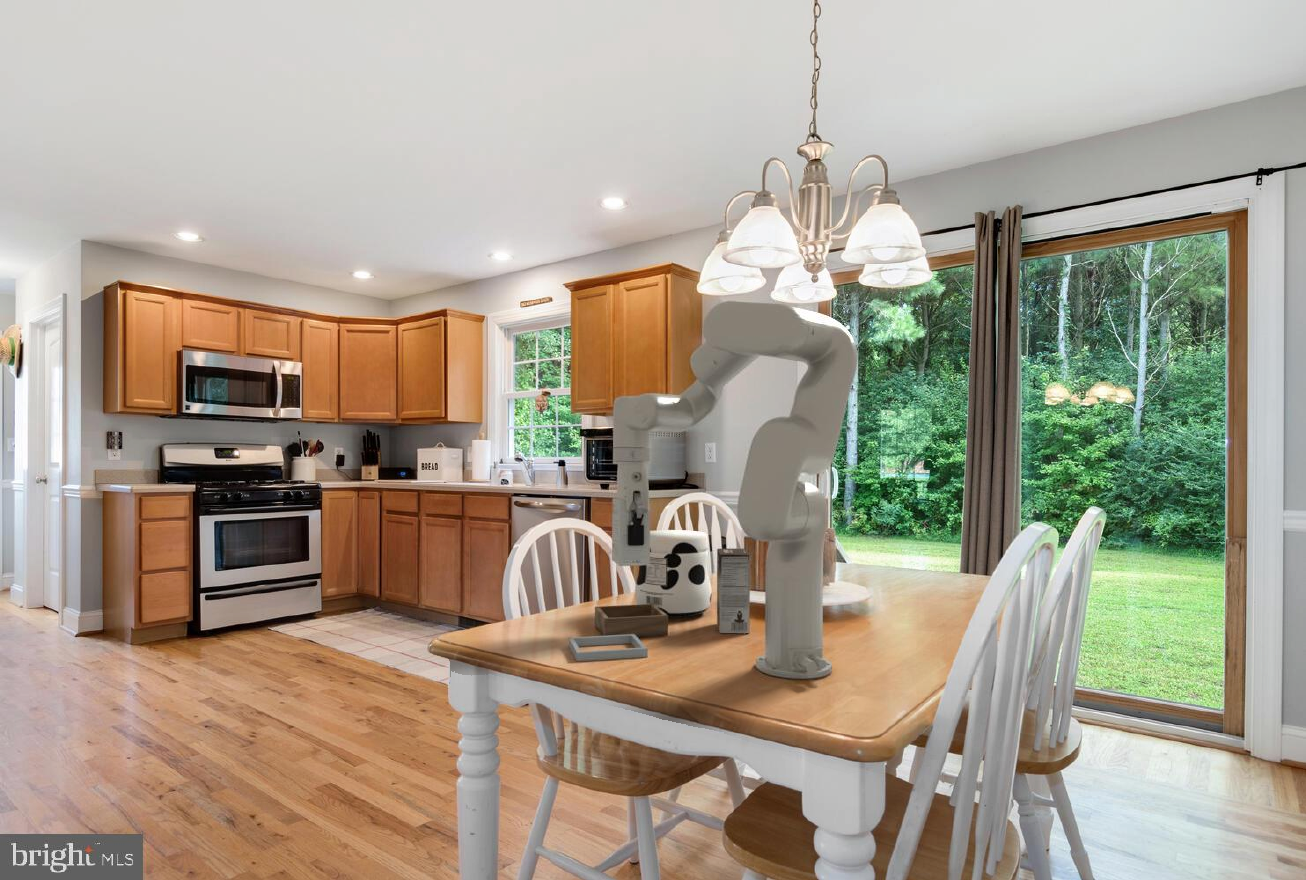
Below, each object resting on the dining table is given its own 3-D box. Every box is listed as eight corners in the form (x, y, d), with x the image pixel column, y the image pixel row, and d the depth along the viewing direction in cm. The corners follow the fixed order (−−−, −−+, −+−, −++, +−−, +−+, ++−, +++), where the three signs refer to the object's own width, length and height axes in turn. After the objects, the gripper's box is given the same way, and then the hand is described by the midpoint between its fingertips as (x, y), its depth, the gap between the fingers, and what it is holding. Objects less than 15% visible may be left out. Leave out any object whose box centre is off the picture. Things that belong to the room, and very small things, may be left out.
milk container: (703, 604, 177) (704, 529, 178) (718, 621, 160) (719, 537, 160) (631, 606, 175) (631, 529, 176) (638, 623, 158) (639, 538, 158)
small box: (650, 565, 148) (650, 500, 148) (619, 566, 146) (619, 500, 147) (641, 559, 156) (641, 497, 156) (611, 560, 154) (611, 497, 154)
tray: (647, 656, 132) (647, 648, 132) (577, 661, 129) (577, 652, 129) (634, 641, 142) (634, 634, 142) (568, 645, 139) (568, 637, 139)
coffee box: (716, 623, 158) (716, 547, 158) (746, 623, 158) (746, 548, 158) (719, 634, 149) (719, 553, 149) (751, 634, 149) (751, 554, 149)
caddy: (667, 636, 147) (668, 615, 147) (605, 639, 144) (605, 618, 144) (653, 622, 158) (653, 603, 158) (594, 625, 155) (595, 606, 155)
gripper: (660, 457, 144) (659, 547, 144) (639, 456, 161) (639, 537, 161) (622, 457, 142) (621, 548, 142) (605, 456, 159) (604, 538, 159)
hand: (630, 542), depth 151 cm, fingers closed on small box, 8 cm apart
